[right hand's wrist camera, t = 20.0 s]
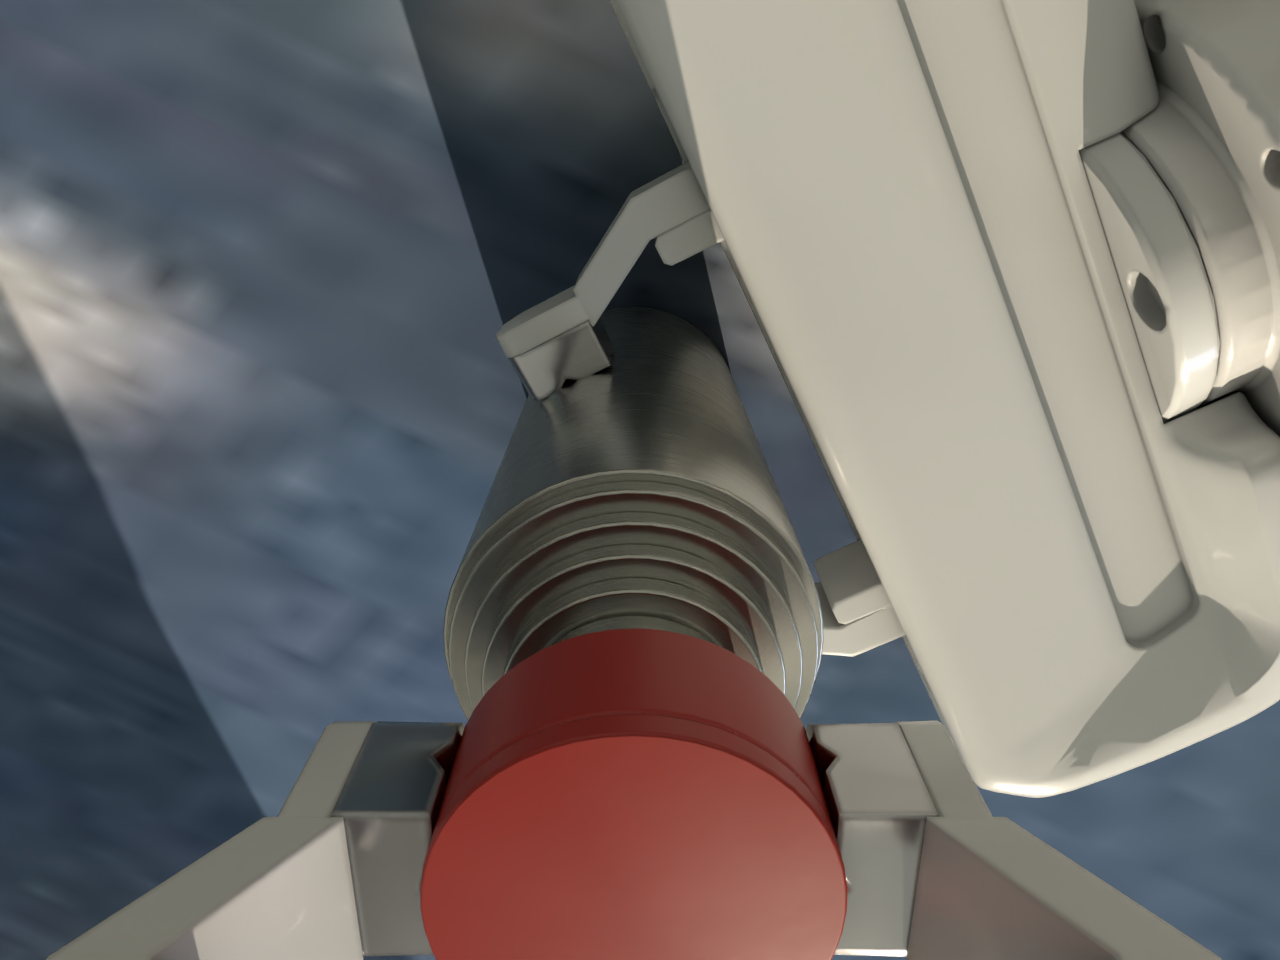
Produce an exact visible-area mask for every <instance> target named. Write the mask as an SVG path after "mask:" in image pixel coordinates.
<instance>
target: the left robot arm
mask: <svg viewBox="0 0 1280 960" xmlns="http://www.w3.org/2000/svg"><path fill="white" fill-rule="evenodd" d="M610 3H611V5H612V7H613V9H614V11H615V14H616V16H617V18H618V20H619V22H620V24H621V27H622V29H623V31H624V33H625V35H626V37H627V40H628V42H629V44H630V46H631V48H632V50H633V53H634V55H635V57H636V59H637V61H638V64H639V66H640V68H641V70H642V72H643V74H644V77H645V79H646V81H647V83H648V85H649V87H650V90H651V92H652V94H653V96H654V98H655V101H656V103H657V105H658V107H659V109H660V111H661V114H662V116H663V118H664V120H665V122H666V124H667V127H668V129H669V131H670V133H671V135H672V137H673V140H674V142H675V144H676V146H677V148H678V151H679V153H680V155H681V157H682V159H683V161H684V164H682V165H681V166H679V167H677V168H675V169H673V170H671V171H669V172H668V173H666V174H664V175H662V176H660V177H658V178H656V179H655V180H653V181H651V182H649V183H647V184H645V185H643V186H642V187H640V188H638V189H636V190H634V191H632V192H631V193H630V195H629V196H628V198H627V199H626V201H625V203H624V204H623V206H622V207H621V209H620V211H619V212H618V214H617V215H616V217H615V219H614V220H613V222H612V223H611V225H610V227H609V228H608V230H607V232H606V233H605V235H604V236H603V238H602V240H601V241H600V243H599V244H598V246H597V248H596V249H595V251H594V252H593V254H592V256H591V257H590V259H589V260H588V262H587V264H586V265H585V267H584V268H583V270H582V272H581V273H580V275H579V277H578V279H577V281H576V284H575V285H574V286H572V287H570V288H568V289H566V290H564V291H563V292H561V293H559V294H557V295H555V296H553V297H551V298H549V299H547V300H545V301H543V302H541V303H539V304H537V305H536V306H534V307H532V308H530V309H528V310H526V311H524V312H522V313H520V314H519V315H517V316H516V317H514V318H513V319H511V320H510V321H508V322H507V323H505V324H504V325H503V326H502V327H501V328H500V330H499V331H498V332H497V334H496V335H495V336H496V338H497V340H498V342H499V344H500V346H501V348H502V350H503V352H504V353H505V355H506V357H507V358H508V359H509V361H510V363H511V364H512V366H513V368H514V370H515V371H516V373H517V375H518V376H519V378H520V380H521V381H522V383H523V385H524V386H525V388H526V390H527V392H528V393H529V395H530V397H531V398H532V400H534V401H536V400H540V399H543V398H546V397H548V396H550V395H552V394H553V393H554V392H556V391H557V390H559V389H561V387H562V385H563V383H564V381H565V379H566V378H567V379H574V380H579V379H582V378H585V377H587V376H590V375H592V374H594V373H596V372H598V371H600V370H602V369H604V368H606V367H608V366H610V365H611V358H612V357H611V354H610V353H612V349H613V344H612V342H611V340H610V338H609V336H608V334H607V332H606V330H605V328H604V326H603V324H602V322H601V320H600V316H601V315H602V313H603V311H604V310H605V308H606V307H607V305H608V304H609V302H610V301H611V299H612V298H613V296H614V295H615V293H616V291H617V290H618V288H619V287H620V285H621V284H622V282H623V281H624V279H625V278H626V276H627V275H628V273H629V271H630V270H631V268H632V267H633V265H634V264H635V262H636V261H637V259H638V258H639V256H640V255H641V253H642V251H643V250H644V248H645V247H646V245H647V244H648V242H649V241H650V240H651V239H653V238H654V242H655V247H656V249H657V251H658V253H659V255H660V257H661V259H662V261H663V263H664V264H668V265H671V266H672V265H674V264H676V263H678V262H680V261H682V260H684V259H687V258H689V257H691V256H693V255H695V254H697V253H699V252H701V251H703V250H705V249H707V248H709V247H711V246H713V245H715V244H717V243H719V242H721V244H722V246H723V248H724V251H725V253H726V255H727V257H728V259H729V261H730V264H731V266H732V268H733V270H734V272H735V274H736V277H737V279H738V281H739V283H740V285H741V287H742V290H743V292H744V294H745V296H746V298H747V301H748V303H749V305H750V307H751V309H752V311H753V314H754V316H755V318H756V320H757V322H758V324H759V327H760V329H761V331H762V333H763V335H764V338H765V340H766V342H767V344H768V346H769V348H770V351H771V353H772V355H773V357H774V359H775V361H776V364H777V366H778V368H779V370H780V372H781V374H782V377H783V379H784V381H785V383H786V385H787V388H788V390H789V392H790V394H791V396H792V398H793V401H794V403H795V405H796V407H797V409H798V411H799V414H800V416H801V418H802V420H803V422H804V424H805V427H806V429H807V431H808V433H809V435H810V438H811V440H812V442H813V444H814V446H815V448H816V451H817V453H818V455H819V457H820V459H821V461H822V464H823V466H824V468H825V470H826V472H827V474H828V477H829V479H830V481H831V483H832V485H833V488H834V490H835V492H836V494H837V496H838V498H839V501H840V503H841V505H842V507H843V509H844V511H845V514H846V516H847V518H848V520H849V522H850V525H851V527H852V529H853V531H854V533H855V535H856V538H857V540H858V541H856V542H854V543H851V544H849V545H847V546H845V547H843V548H840V549H838V550H836V551H834V552H832V553H829V554H827V555H825V556H823V557H821V558H819V559H816V561H815V564H814V567H815V569H816V572H817V574H818V576H819V579H820V581H821V583H814V584H815V587H816V589H817V592H818V595H819V600H820V605H821V610H822V616H823V636H824V641H823V649H822V654H828V655H840V656H851V657H853V656H856V655H858V654H861V653H863V652H865V651H868V650H870V649H873V648H875V647H877V646H880V645H882V644H885V643H887V642H890V641H892V640H894V639H897V638H899V637H902V638H903V640H904V642H905V644H906V646H907V648H908V651H909V653H910V655H911V657H912V659H913V661H914V664H915V666H916V668H917V670H918V672H919V675H920V677H921V679H922V681H923V683H924V685H925V688H926V690H927V692H928V694H929V696H930V698H931V700H932V703H933V705H934V707H935V709H936V711H937V713H938V715H939V717H940V719H941V722H942V724H943V725H944V726H945V728H946V730H947V732H948V734H949V736H950V737H951V739H952V741H953V743H954V745H955V747H956V749H957V751H958V753H959V754H960V756H961V758H962V760H963V762H964V764H965V766H966V768H967V770H968V771H969V773H970V775H971V777H972V779H973V781H974V783H975V784H976V785H977V786H979V787H980V788H983V789H986V790H990V791H994V792H999V793H1005V794H1011V795H1018V796H1025V797H1032V798H1042V797H1049V796H1053V795H1057V794H1061V793H1065V792H1069V791H1073V790H1075V789H1078V788H1081V787H1084V786H1087V785H1090V784H1093V783H1095V782H1098V781H1101V780H1104V779H1107V778H1110V777H1112V776H1115V775H1118V774H1120V773H1123V772H1125V771H1128V770H1131V769H1133V768H1136V767H1138V766H1141V765H1144V764H1146V763H1149V762H1151V761H1154V760H1156V759H1159V758H1161V757H1164V756H1166V755H1168V754H1171V753H1173V752H1175V751H1178V750H1180V749H1183V748H1185V747H1187V746H1190V745H1192V744H1194V743H1197V742H1199V741H1201V740H1203V739H1206V738H1208V737H1210V736H1212V735H1215V734H1217V733H1219V732H1222V731H1224V730H1226V729H1228V728H1230V727H1232V726H1235V725H1237V724H1239V723H1241V722H1243V721H1245V720H1247V719H1249V718H1251V717H1252V716H1254V715H1256V714H1258V713H1260V712H1261V711H1263V710H1265V709H1266V708H1268V707H1270V706H1271V705H1273V704H1274V703H1276V702H1277V701H1279V700H1280V0H610Z"/></svg>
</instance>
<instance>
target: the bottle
mask: <svg viewBox="0 0 1280 960" xmlns="http://www.w3.org/2000/svg"><path fill="white" fill-rule="evenodd" d="M600 320H601V322H602V324H603V326H604V328H605V330H606V332H607V334H608V336H609V338H610V340H611V342H612V344H613V349H612V353H610V354H611V357H612V358H611V365H610V366H608V367H606V368H604V369H602V370H600V371H598V372H596V373H594V374H592V375H590V376H587V377H585V378H582V379H579V380H574V379H567V378H566V379H565V381H564V383H563V385H562V387H561V389H559V390H557V391H556V392H554V393H553V394H552V395H550V396H548V397H546V398H543V399H540V400H536V401H534V400H532V398H531V397H530V395H528V398H527V400H526V403H525V405H524V408H523V410H522V412H521V415H520V417H519V420H518V422H517V425H516V427H515V430H514V432H513V435H512V437H511V440H510V442H509V445H508V447H507V450H506V452H505V455H504V457H503V460H502V462H501V465H500V467H499V470H498V472H497V475H496V477H495V479H494V482H493V484H492V487H491V489H490V492H489V494H488V497H487V499H486V502H485V504H484V507H483V509H482V512H481V514H480V517H479V519H478V522H477V524H476V527H475V529H474V532H473V534H472V537H471V539H470V541H469V544H468V546H467V549H466V551H465V554H464V556H463V559H462V561H461V564H460V566H459V569H458V571H457V574H456V576H455V579H454V581H453V584H452V586H451V589H450V593H449V597H448V601H447V605H446V609H445V619H444V629H443V634H444V652H445V657H446V662H447V667H448V672H449V675H450V678H451V681H452V683H453V687H454V690H455V693H456V695H457V698H458V701H459V703H460V706H461V709H462V710H463V712H464V714H465V716H466V718H467V720H469V718H470V716H471V714H472V712H473V710H474V709H475V708H476V706H477V705H478V703H479V702H480V701H481V699H482V698H483V696H484V695H485V694H486V692H487V691H488V690H489V689H490V688H491V687H492V686H493V685H494V684H495V683H496V682H497V681H498V680H499V679H500V678H501V677H502V676H503V675H505V674H506V673H507V672H508V671H509V670H511V669H512V668H514V667H515V666H516V665H517V664H519V663H520V662H522V661H523V660H525V659H527V658H528V657H530V656H532V655H534V654H535V653H537V652H539V651H540V650H542V649H545V648H547V647H549V646H552V645H554V644H556V643H559V642H561V641H563V640H567V639H570V638H572V637H576V636H579V635H584V634H587V633H593V632H599V631H605V630H612V629H631V628H639V629H643V628H646V629H655V630H664V631H669V632H675V633H681V634H685V635H689V636H692V637H695V638H699V639H702V640H705V641H708V642H710V643H713V644H716V645H717V646H720V647H722V648H724V649H726V650H729V651H730V652H732V653H734V654H735V655H737V656H739V657H740V658H742V659H744V660H745V661H747V662H749V663H750V664H752V665H753V666H754V667H755V668H757V669H758V670H759V671H760V672H762V673H763V674H764V675H765V676H767V677H768V678H769V679H770V680H771V681H772V682H773V683H774V684H775V685H776V686H777V687H778V688H779V690H780V691H781V692H782V693H783V694H784V695H785V696H786V698H787V699H788V701H789V702H790V704H791V705H792V706H793V708H794V709H795V711H796V712H797V714H798V716H799V718H801V716H802V714H803V712H804V710H805V707H806V705H807V703H808V701H809V698H810V696H811V693H812V689H813V686H814V684H815V682H816V678H817V674H818V671H819V667H820V663H821V658H822V649H823V641H824V636H823V616H822V610H821V605H820V600H819V595H818V592H817V589H816V587H815V584H814V581H813V578H812V575H811V573H810V570H809V568H808V565H807V563H806V560H805V558H804V555H803V553H802V550H801V548H800V545H799V543H798V540H797V538H796V535H795V533H794V530H793V528H792V525H791V523H790V520H789V518H788V515H787V513H786V510H785V508H784V505H783V503H782V500H781V498H780V495H779V493H778V490H777V488H776V485H775V483H774V480H773V478H772V475H771V473H770V470H769V468H768V465H767V463H766V460H765V458H764V455H763V453H762V450H761V448H760V445H759V443H758V440H757V438H756V435H755V433H754V430H753V428H752V425H751V423H750V420H749V418H748V415H747V413H746V410H745V408H744V405H743V403H742V400H741V398H740V395H739V393H738V390H737V388H736V385H735V383H734V380H733V378H732V375H731V373H730V370H729V368H728V366H727V364H726V362H725V360H724V358H723V356H722V355H721V353H720V352H719V350H718V349H717V347H716V346H715V345H714V343H713V342H712V341H711V340H710V339H709V338H708V337H707V336H706V335H705V334H704V333H703V332H701V331H700V330H699V329H698V328H697V327H695V326H694V325H692V324H691V323H689V322H687V321H686V320H684V319H682V318H680V317H678V316H676V315H674V314H671V313H668V312H665V311H662V310H658V309H653V308H646V307H622V308H615V309H610V310H606V311H603V313H602V315H601V316H600Z"/></svg>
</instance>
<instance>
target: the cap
mask: <svg viewBox="0 0 1280 960" xmlns="http://www.w3.org/2000/svg"><path fill="white" fill-rule="evenodd" d="M847 892H848V888H847V881H846V874H845V867H844V863H843V860H842V856H841V852H840V849H839V846H838V843H837V840H836V836H835V832H834V829H833V825H832V821H831V818H830V814H829V811H828V807H827V804H826V800H825V797H824V792H823V788H822V785H821V781H820V778H819V774H818V771H817V768H816V764H815V761H814V757H813V754H812V750H811V747H810V743H809V740H808V737H807V734H806V730H805V728H804V726H803V724H802V722H801V720H800V718H799V716H798V714H797V712H796V711H795V709H794V708H793V706H792V705H791V704H790V702H789V701H788V699H787V698H786V696H785V695H784V694H783V693H782V692H781V691H780V690H779V688H778V687H777V686H776V685H775V684H774V683H773V682H772V681H771V680H770V679H769V678H768V677H767V676H765V675H764V674H763V673H762V672H760V671H759V670H758V669H757V668H755V667H754V666H753V665H752V664H750V663H749V662H747V661H745V660H744V659H742V658H740V657H739V656H737V655H735V654H734V653H732V652H730V651H729V650H726V649H724V648H722V647H720V646H717V645H716V644H713V643H710V642H708V641H705V640H702V639H699V638H695V637H692V636H689V635H685V634H681V633H675V632H669V631H664V630H655V629H646V628H643V629H639V628H631V629H612V630H605V631H599V632H593V633H587V634H584V635H579V636H576V637H572V638H570V639H567V640H563V641H561V642H559V643H556V644H554V645H552V646H549V647H547V648H545V649H542V650H540V651H539V652H537V653H535V654H534V655H532V656H530V657H528V658H527V659H525V660H523V661H522V662H520V663H519V664H517V665H516V666H515V667H514V668H512V669H511V670H509V671H508V672H507V673H506V674H505V675H503V676H502V677H501V678H500V679H499V680H498V681H497V682H496V683H495V684H494V685H493V686H492V687H491V688H490V689H489V690H488V691H487V692H486V694H485V695H484V696H483V698H482V699H481V701H480V702H479V703H478V705H477V706H476V708H475V709H474V710H473V712H472V714H471V716H470V718H469V720H468V722H467V724H466V726H465V728H464V731H463V734H462V737H461V740H460V744H459V747H458V750H457V754H456V757H455V761H454V764H453V767H452V770H451V773H450V776H449V780H448V783H447V786H446V791H445V794H444V797H443V801H442V804H441V808H440V811H439V814H438V818H437V821H436V824H435V828H434V832H433V835H432V838H431V841H430V844H429V847H428V850H427V853H426V857H425V860H424V863H423V868H422V875H421V882H420V910H421V915H422V920H423V925H424V930H425V933H426V936H427V939H428V942H429V944H430V947H431V950H432V952H433V954H434V956H435V958H436V959H437V960H831V959H832V957H833V955H834V954H835V951H836V948H837V946H838V943H839V940H840V938H841V935H842V932H843V927H844V922H845V917H846V912H847Z"/></svg>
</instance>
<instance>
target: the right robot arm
mask: <svg viewBox="0 0 1280 960" xmlns="http://www.w3.org/2000/svg"><path fill="white" fill-rule="evenodd" d="M463 731H464V726H463V724H462V723H428V722H381V721H378V722H376V723H375V722H373V721H334V722H333V723H331V724H329V725H328V726H327V727H326V728H325V729H324V731H323V733H322V734H321V736H320V738H319V740H318V742H317V744H316V746H315V747H314V749H313V751H312V753H311V755H310V757H309V759H308V760H307V762H306V764H305V766H304V768H303V770H302V772H301V773H300V775H299V777H298V779H297V781H296V783H295V785H294V786H293V788H292V790H291V792H290V794H289V796H288V798H287V799H286V801H285V803H284V805H283V807H282V809H281V810H280V812H279V814H278V816H277V817H263V818H262V819H260V820H259V821H257V822H256V823H254V824H252V825H251V826H249V827H248V828H246V829H245V830H243V831H242V832H240V833H238V834H237V835H235V836H234V837H232V838H231V839H229V840H228V841H226V842H225V843H223V844H221V845H220V846H218V847H217V848H215V849H214V850H212V851H211V852H209V853H207V854H206V855H204V856H203V857H201V858H200V859H198V860H197V861H195V862H194V863H192V864H190V865H189V866H187V867H186V868H184V869H183V870H181V871H180V872H178V873H176V874H175V875H173V876H172V877H170V878H169V879H167V880H166V881H164V882H163V883H161V884H159V885H158V886H156V887H155V888H153V889H152V890H150V891H149V892H147V893H146V894H144V895H142V896H141V897H139V898H138V899H136V900H135V901H133V902H132V903H130V904H128V905H127V906H125V907H124V908H122V909H121V910H119V911H118V912H116V913H115V914H113V915H111V916H110V917H108V918H107V919H105V920H104V921H102V922H101V923H99V924H97V925H96V926H94V927H93V928H91V929H90V930H88V931H87V932H85V933H84V934H82V935H80V936H79V937H77V938H76V939H74V940H73V941H71V942H70V943H68V944H66V945H65V946H63V947H62V948H60V949H59V950H57V951H56V952H54V953H53V954H51V955H49V956H48V958H47V959H46V960H363V956H397V955H431V954H433V952H432V950H431V947H430V944H429V942H428V939H427V936H426V933H425V930H424V925H423V920H422V915H421V910H420V882H421V875H422V868H423V863H424V860H425V857H426V853H427V850H428V847H429V844H430V841H431V838H432V835H433V832H434V828H435V824H436V821H437V818H438V814H439V811H440V808H441V804H442V801H443V797H444V794H445V791H446V786H447V783H448V780H449V776H450V773H451V770H452V767H453V764H454V761H455V757H456V754H457V750H458V747H459V744H460V740H461V737H462V734H463ZM806 734H807V737H808V740H809V743H810V747H811V750H812V754H813V757H814V761H815V764H816V768H817V771H818V774H819V778H820V781H821V785H822V788H823V792H824V797H825V800H826V804H827V807H828V811H829V814H830V818H831V821H832V825H833V829H834V832H835V836H836V840H837V843H838V846H839V849H840V852H841V856H842V860H843V863H844V867H845V874H846V881H847V888H848V892H847V912H846V917H845V922H844V927H843V932H842V935H841V938H840V940H839V943H838V946H837V948H836V951H835V954H837V955H872V956H907V960H1222V959H1221V958H1220V957H1219V956H1217V955H1216V954H1214V953H1212V952H1211V951H1209V950H1208V949H1206V948H1205V947H1203V946H1202V945H1200V944H1199V943H1197V942H1196V941H1194V940H1193V939H1191V938H1190V937H1188V936H1187V935H1185V934H1183V933H1182V932H1180V931H1179V930H1177V929H1176V928H1174V927H1173V926H1171V925H1170V924H1168V923H1167V922H1165V921H1164V920H1162V919H1161V918H1159V917H1158V916H1156V915H1154V914H1153V913H1151V912H1150V911H1148V910H1147V909H1145V908H1144V907H1142V906H1141V905H1139V904H1138V903H1136V902H1135V901H1133V900H1132V899H1130V898H1129V897H1127V896H1125V895H1124V894H1122V893H1121V892H1119V891H1118V890H1116V889H1115V888H1113V887H1112V886H1110V885H1109V884H1107V883H1106V882H1104V881H1103V880H1101V879H1100V878H1098V877H1096V876H1095V875H1093V874H1092V873H1090V872H1089V871H1087V870H1086V869H1084V868H1083V867H1081V866H1080V865H1078V864H1077V863H1075V862H1074V861H1072V860H1070V859H1069V858H1067V857H1066V856H1064V855H1063V854H1061V853H1060V852H1058V851H1057V850H1055V849H1054V848H1052V847H1051V846H1049V845H1048V844H1046V843H1045V842H1043V841H1041V840H1040V839H1038V838H1037V837H1035V836H1034V835H1032V834H1031V833H1029V832H1028V831H1026V830H1025V829H1023V828H1022V827H1020V826H1019V825H1017V824H1016V823H1014V822H1012V821H1011V820H1009V819H1008V818H1006V817H992V815H991V813H990V811H989V809H988V807H987V805H986V803H985V802H984V800H983V798H982V796H981V794H980V792H979V790H978V788H977V786H976V785H975V783H974V781H973V779H972V777H971V775H970V773H969V771H968V770H967V768H966V766H965V764H964V762H963V760H962V758H961V756H960V754H959V753H958V751H957V749H956V747H955V745H954V743H953V741H952V739H951V737H950V736H949V734H948V732H947V730H946V728H945V726H944V725H943V724H941V723H940V722H938V721H913V722H894V723H878V724H808V725H807V730H806Z"/></svg>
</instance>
